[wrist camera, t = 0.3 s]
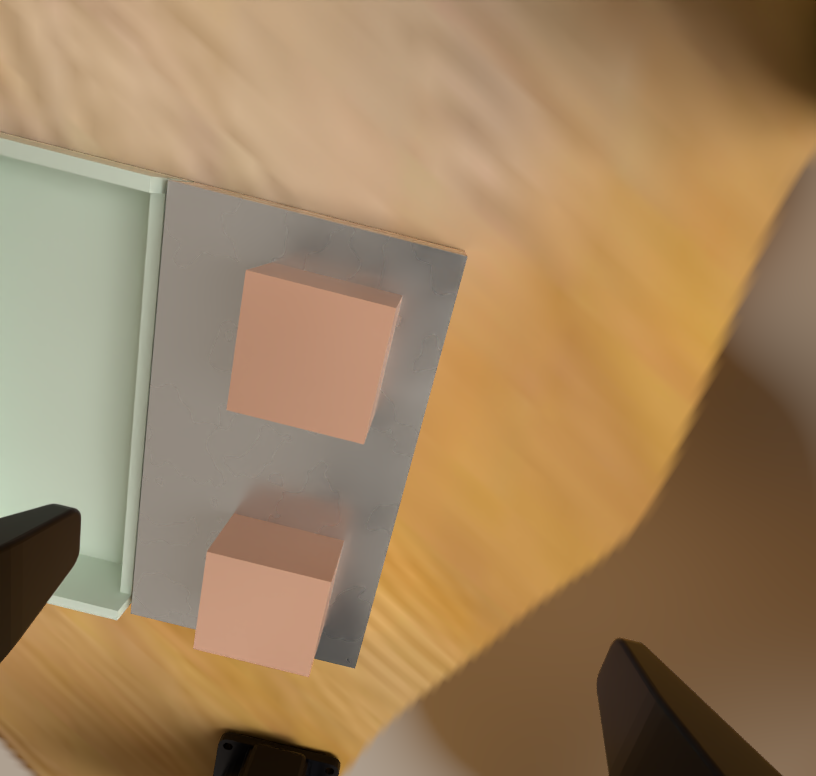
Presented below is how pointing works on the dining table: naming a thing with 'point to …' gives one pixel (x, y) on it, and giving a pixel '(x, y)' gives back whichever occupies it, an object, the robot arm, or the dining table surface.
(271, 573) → the tile
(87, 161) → the tray
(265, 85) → the dining table surface
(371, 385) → the tile
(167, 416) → the plate
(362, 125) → the dining table surface
